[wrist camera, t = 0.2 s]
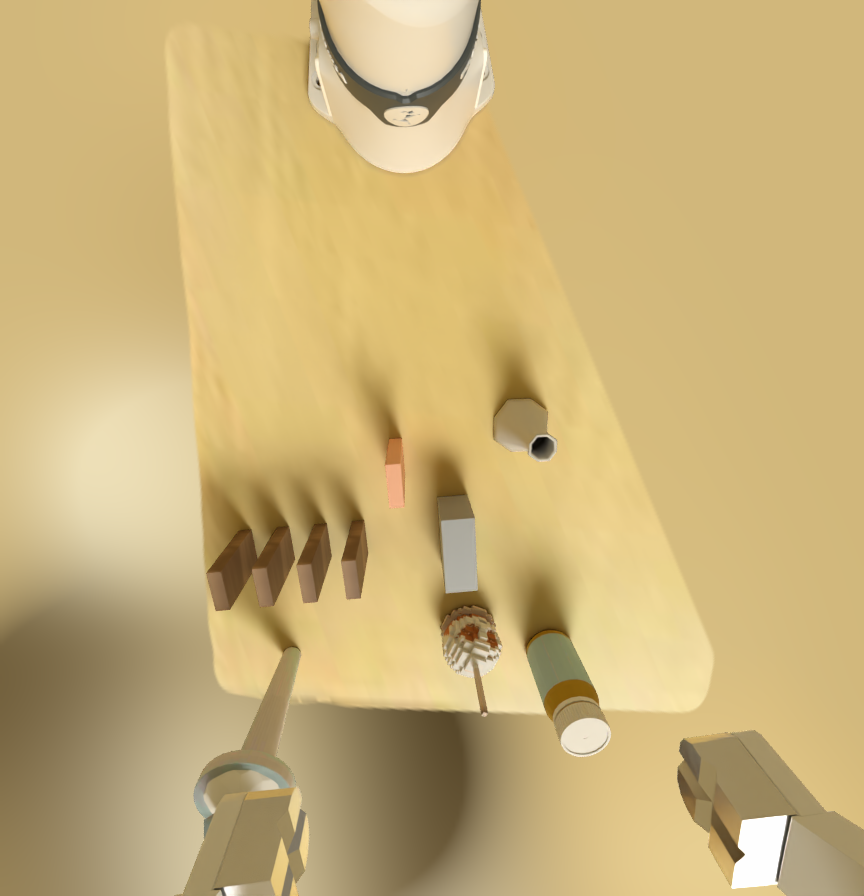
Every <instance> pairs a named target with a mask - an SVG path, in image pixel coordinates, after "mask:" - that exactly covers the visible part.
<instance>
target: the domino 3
mask: <svg viewBox="0 0 864 896" xmlns="http://www.w3.org/2000/svg"><path fill="white" fill-rule="evenodd" d="M331 557H332V555H331V549H330V542H329V535H328V529H327V523H325V524H315V525H314V527H313V529H312V532H311V534H310V536H309V538H308V541H307V543H306V545H305V547H304V550H303V552H302V554H301V556H300V559H299V561H298V563H297V571H298V576H299V582H300V587H301V593H302V598H303V603H312V602H317V601H318V598H319V595H320V592H321V589H322V585H323V582H324V579H325V576H326V573H327V570H328V566H329V563H330V560H331Z"/></svg>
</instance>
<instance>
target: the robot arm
mask: <svg viewBox="0 0 864 896" xmlns="http://www.w3.org/2000/svg"><path fill="white" fill-rule="evenodd" d="M318 81H319V82H320V85H321V86H318V85H317V84H318ZM494 86H495V85H494V77H493V72H492V66H491V61H490V55H489V50H488V44H487V39H486V34H485V28H484V23H483V17H482V12H481V0H312V4H311V18H310V53H309V78H308V97H309V101H310V104H311V106H312V107H313V109H314V110H315V111H316V112H318V113H319V114H320V115H321V116H323V117H324V118H326V119H327V120H329V121H331V122H332V123H334V124H335V125H336V126H337V127H338V128H339V130H340V131H341V132H342V134H343V135H344V137H345V138H346V140H347V141H348V142H349V144H350V145H351V146H352V147H353V149H354V150H355V151H356V152H357V153H358V154H359V155H360V156H362V157H363V158H364V159H365V160H367V161H368V162H370V163H371V164H373V165H375V166H377V167H379V168H381V169H384V170H387V171H391V172H397V173H412V172H417V171H421V170H424V169H427V168H429V167H431V166H433V165H435V164H437V163H438V162H440V161H441V160H442V159H443V158H445V157H446V156H447V155H448V154H449V153H450V152H451V151H452V150H453V148H454V147H455V146H456V144H457V143H458V141H459V140H460V138H461V136H462V134H463V133H464V131H465V129H466V127H467V125H468V123H469V121H470V120H471V118H472V117H473V116H474V115H475V114H476V113H477V112H479V111H480V110H481V109H482V108H483V107H484V106H485V105H486V104H487V103H488V102H489V101H490V99H491V98H492V96H493V93H494ZM679 752H680V754H681V755H682V757H683V758H684V761H683V762H682V763H681V764H680V765H679V766H678V775H677V780H678V784H679V789H680V793H681V796H682V798H683V801H684V803H685V805H686V808H687V810H688V811H689V813H690V815H691V817H692V819H693V820H694V822H695V823H697V824H698V825H699V826H700V827H702V828H703V829H704V830H706V831H707V832H708V833H709V843H708V847H709V849H710V851H711V852H712V854H713V856H714V858H715V859H716V861H717V863H718V865H719V867H720V868H721V870H722V872H723V874H724V875H725V877H726V879H727V881H728V882H729V884H730V886H731V888H740V887H750V886H761V885H772V884H778V885H777V887H778V888H779V889H780V890H781V891H782V892H783V893H784V894H785V895H786V896H864V830H863V829H862V828H860V827H858V826H857V825H855V824H853V823H852V822H851V821H849V820H847V819H846V818H844V817H843V816H841V815H839V814H838V813H836V812H835V811H832V812H826V811H825V810H824V808H823V807H822V806H821V805H820V803H819V802H818V801H817V800H816V799H815V798H814V796H813V795H812V794H811V793H810V792H809V791H808V789H807V788H806V787H805V786H804V785H803V784H802V782H801V781H800V780H799V779H798V778H797V776H796V775H795V774H794V773H793V772H792V770H791V769H790V768H789V767H788V766H787V765H786V763H785V762H784V761H783V760H782V759H781V758H780V756H779V755H778V754H777V753H776V752H775V750H774V749H773V748H772V747H771V746H770V745H769V743H768V742H767V741H766V740H765V739H764V738H763V736H762V735H761V734H759V733H758V732H756V731H755V730H747V731H741V732H734V733H720V734H713V735H705V736H699V737H691V738H684V739H683V740H682V741H681V742H680V749H679ZM301 802H302V795H301V792H300V789H299V787H293V788H283V789H273V790H263V791H254V792H243V793H235V794H226V795H224V796H223V798H222V799H221V801H220V802H219V804H218V805H217V808H216V810H215V813H214V815H213V818H212V821H211V823H210V826H209V828H208V831H207V833H206V836H205V838H204V841H203V844H202V846H201V849H200V851H199V854H198V856H197V859H196V861H195V864H194V867H193V869H192V872H191V874H190V877H189V880H188V882H187V884H186V887H185V890H184V892H183V894H179V895H175V896H299V895H298V892H297V888H296V883H297V881H298V880H299V879H300V877H301V876H302V874H303V873H304V872H305V868H306V862H307V856H308V847H309V824H308V819H307V814H306V813H305V812H304V811H302V810H301V809H300V807H301Z"/></svg>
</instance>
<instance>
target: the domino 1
mask: <svg viewBox="0 0 864 896" xmlns="http://www.w3.org/2000/svg"><path fill="white" fill-rule="evenodd" d="M257 560H258V559H257V555H256V550H255V545H254V540H253V536H252V531H251V530H241V531H238V533H237V534H236V535H235V537H234V538H233V539H232V541H231V542H230V543H229V544H228V546H227V547H226V548H225V550H224V551H223V552H222V553H221V555H220V556H219V557H218V559H217V560H216V561H215V563H214V564H213V565H212V566H211V568H210V569H209V570H208V572H207V573H206V574H207V578H208V582H209V586H210V590H211V594H212V598H213V602H214V606H215V610H216V611H222V610H230V609H231V607H232V605H233V604H234V602H235V600H236V599H237V597H238V595H239V594H240V592H241V590H242V589H243V587H244V585H245V584H246V582H247V580H248V579H249V577H250V575H251V574H252V568H253V566H254V564H255V563H256V561H257Z"/></svg>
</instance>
